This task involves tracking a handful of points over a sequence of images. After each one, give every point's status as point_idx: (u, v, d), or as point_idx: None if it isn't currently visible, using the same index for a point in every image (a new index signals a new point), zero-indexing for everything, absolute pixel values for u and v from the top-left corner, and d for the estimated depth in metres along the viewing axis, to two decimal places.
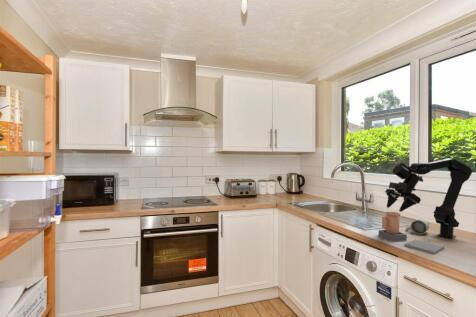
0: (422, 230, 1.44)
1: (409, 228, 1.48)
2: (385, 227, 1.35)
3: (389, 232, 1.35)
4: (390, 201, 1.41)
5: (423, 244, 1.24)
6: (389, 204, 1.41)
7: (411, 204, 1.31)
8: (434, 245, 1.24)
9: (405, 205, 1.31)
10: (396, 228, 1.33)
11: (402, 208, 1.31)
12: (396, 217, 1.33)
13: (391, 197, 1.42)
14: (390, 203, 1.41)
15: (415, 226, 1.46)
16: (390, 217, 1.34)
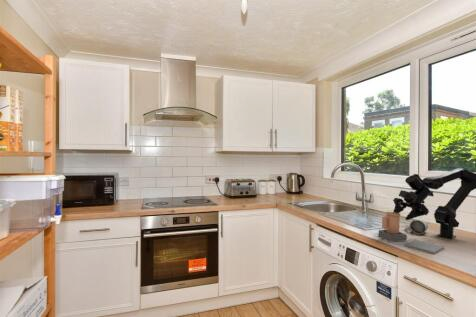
0: (421, 230, 1.44)
1: (408, 228, 1.48)
2: (385, 227, 1.35)
3: (389, 232, 1.35)
4: (396, 210, 1.42)
5: (423, 244, 1.24)
6: None
7: (418, 214, 1.31)
8: (434, 245, 1.24)
9: (412, 214, 1.31)
10: (396, 227, 1.33)
11: (409, 217, 1.32)
12: (396, 217, 1.33)
13: (398, 206, 1.42)
14: (396, 211, 1.42)
15: (414, 226, 1.47)
16: (390, 217, 1.34)
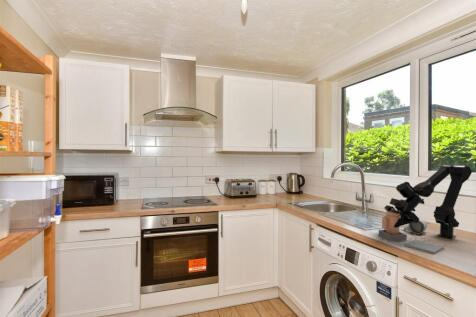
0: (420, 230, 1.44)
1: (407, 228, 1.49)
2: (385, 227, 1.35)
3: (389, 232, 1.35)
4: None
5: (423, 244, 1.24)
6: None
7: (407, 222, 1.32)
8: (434, 245, 1.24)
9: (401, 222, 1.32)
10: (396, 228, 1.33)
11: (397, 224, 1.32)
12: (396, 217, 1.33)
13: None
14: None
15: (413, 226, 1.47)
16: (390, 217, 1.34)
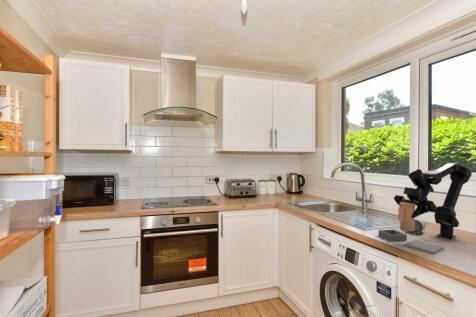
0: (418, 229, 1.45)
1: None
2: (402, 218, 1.26)
3: (405, 224, 1.27)
4: None
5: (423, 244, 1.24)
6: None
7: (423, 212, 1.26)
8: (434, 245, 1.24)
9: (418, 212, 1.25)
10: (413, 218, 1.26)
11: (415, 215, 1.25)
12: (413, 207, 1.26)
13: None
14: None
15: None
16: (407, 207, 1.26)
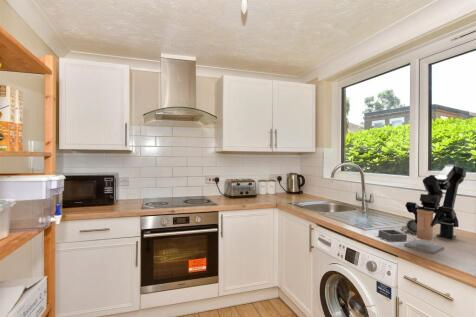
0: None
1: (405, 227, 1.49)
2: (423, 227, 1.19)
3: (425, 233, 1.20)
4: None
5: (423, 244, 1.24)
6: None
7: (441, 219, 1.21)
8: (434, 245, 1.24)
9: (437, 220, 1.20)
10: None
11: (434, 223, 1.20)
12: (432, 215, 1.20)
13: None
14: None
15: (411, 225, 1.48)
16: (426, 215, 1.20)
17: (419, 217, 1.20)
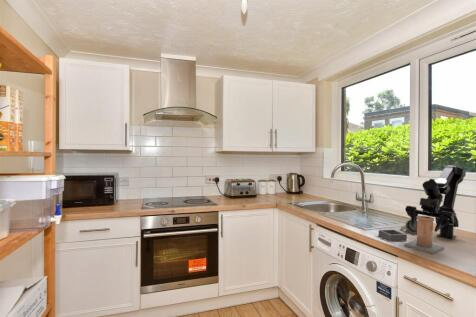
0: None
1: (404, 227, 1.50)
2: (423, 234, 1.20)
3: (425, 240, 1.21)
4: (414, 219, 1.27)
5: None
6: (413, 223, 1.27)
7: (444, 224, 1.20)
8: (434, 245, 1.24)
9: (440, 225, 1.19)
10: (432, 233, 1.21)
11: (438, 228, 1.18)
12: (432, 222, 1.20)
13: (414, 215, 1.28)
14: (414, 222, 1.27)
15: (410, 225, 1.48)
16: (427, 222, 1.20)
17: (419, 224, 1.20)
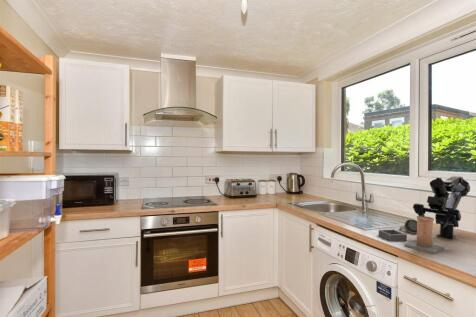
0: (416, 229, 1.46)
1: (403, 227, 1.50)
2: (422, 234, 1.20)
3: (425, 240, 1.21)
4: None
5: None
6: None
7: (451, 221, 1.25)
8: (434, 245, 1.24)
9: (447, 221, 1.24)
10: (432, 233, 1.21)
11: (445, 224, 1.24)
12: (432, 222, 1.20)
13: (422, 213, 1.33)
14: None
15: (409, 225, 1.49)
16: (426, 223, 1.20)
17: (419, 224, 1.20)
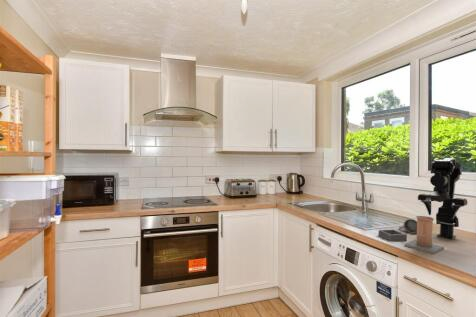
0: (415, 229, 1.46)
1: (402, 227, 1.50)
2: (422, 234, 1.20)
3: (425, 240, 1.21)
4: (429, 207, 1.33)
5: None
6: (430, 211, 1.33)
7: (459, 207, 1.25)
8: (434, 245, 1.24)
9: (455, 211, 1.25)
10: None
11: (454, 215, 1.25)
12: (432, 222, 1.20)
13: (428, 203, 1.33)
14: (430, 209, 1.33)
15: (408, 225, 1.49)
16: (426, 222, 1.20)
17: (419, 224, 1.20)
